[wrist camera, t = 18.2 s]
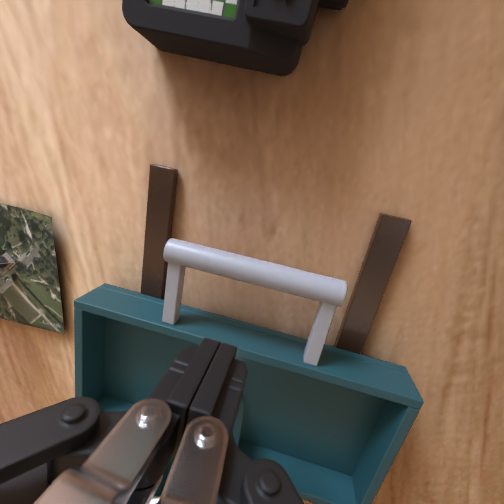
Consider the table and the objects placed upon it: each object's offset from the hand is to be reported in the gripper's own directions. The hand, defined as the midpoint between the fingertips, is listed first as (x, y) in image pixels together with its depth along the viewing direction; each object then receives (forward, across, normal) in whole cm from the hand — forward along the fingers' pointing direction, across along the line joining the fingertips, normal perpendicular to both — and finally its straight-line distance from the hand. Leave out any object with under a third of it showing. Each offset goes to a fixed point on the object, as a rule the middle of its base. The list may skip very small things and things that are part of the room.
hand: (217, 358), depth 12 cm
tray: (+6, 0, +4) cm, 8 cm away
